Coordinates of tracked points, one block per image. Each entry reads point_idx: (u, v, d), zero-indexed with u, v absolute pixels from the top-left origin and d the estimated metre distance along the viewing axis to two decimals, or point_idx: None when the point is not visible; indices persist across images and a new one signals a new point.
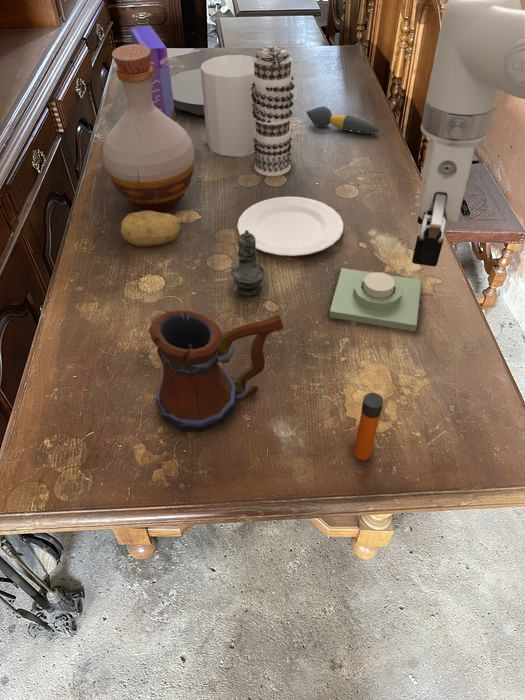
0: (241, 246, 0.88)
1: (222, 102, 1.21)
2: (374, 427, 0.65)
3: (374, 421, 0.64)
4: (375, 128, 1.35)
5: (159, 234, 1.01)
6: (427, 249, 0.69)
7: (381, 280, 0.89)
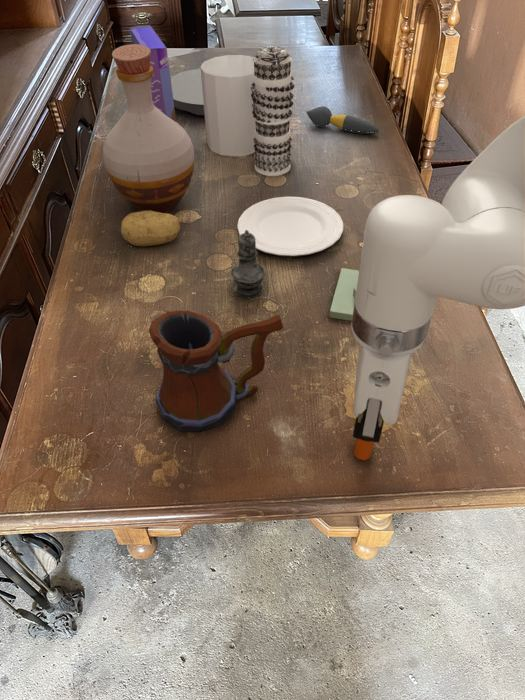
0: (241, 246, 0.88)
1: (222, 102, 1.21)
2: None
3: None
4: (375, 128, 1.35)
5: (159, 234, 1.01)
6: None
7: None
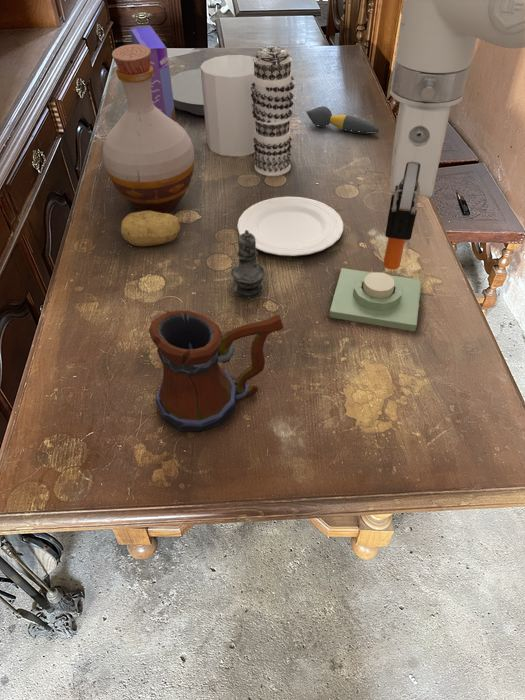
0: (241, 246, 0.88)
1: (222, 102, 1.21)
2: None
3: None
4: (375, 128, 1.35)
5: (159, 234, 1.01)
6: (401, 221, 0.66)
7: (381, 280, 0.89)
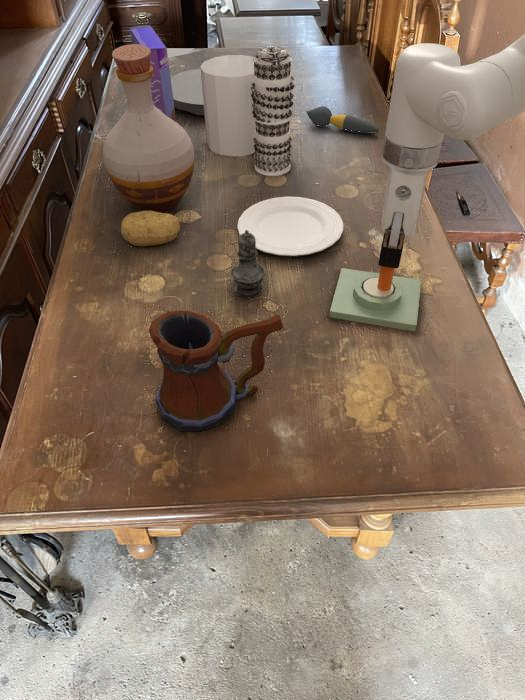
0: (241, 246, 0.88)
1: (222, 102, 1.21)
2: None
3: None
4: (375, 128, 1.35)
5: (159, 234, 1.01)
6: (390, 254, 0.83)
7: None
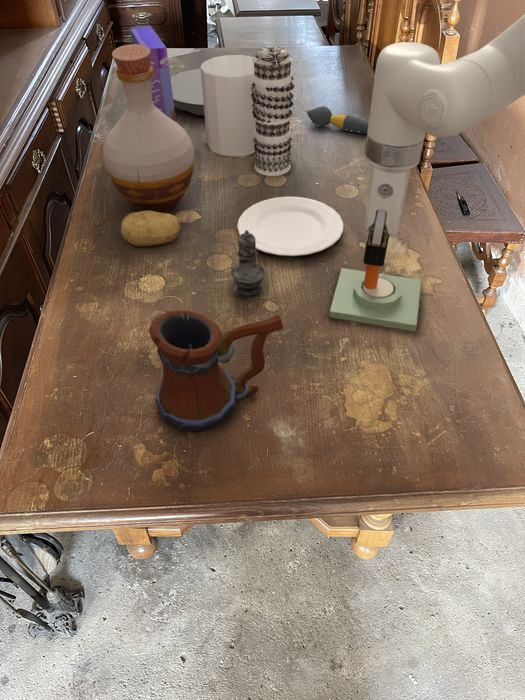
0: (241, 246, 0.88)
1: (222, 102, 1.21)
2: None
3: None
4: None
5: (159, 234, 1.01)
6: (375, 252, 0.83)
7: (380, 286, 0.90)
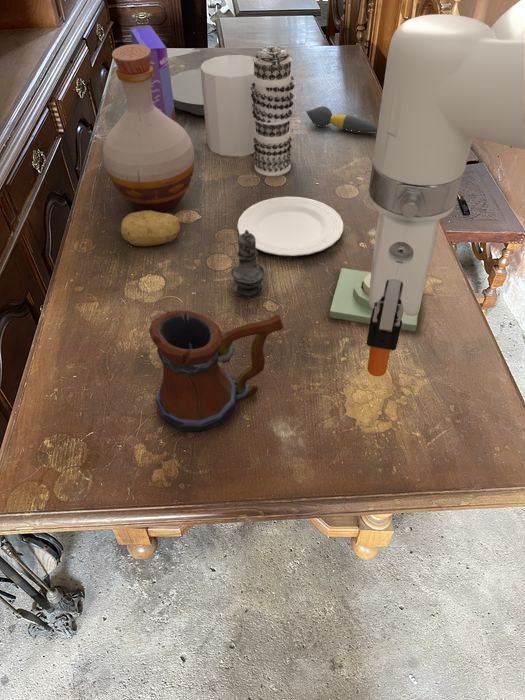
0: (241, 246, 0.88)
1: (222, 102, 1.21)
2: None
3: None
4: (375, 128, 1.35)
5: (159, 234, 1.01)
6: (383, 332, 0.56)
7: None
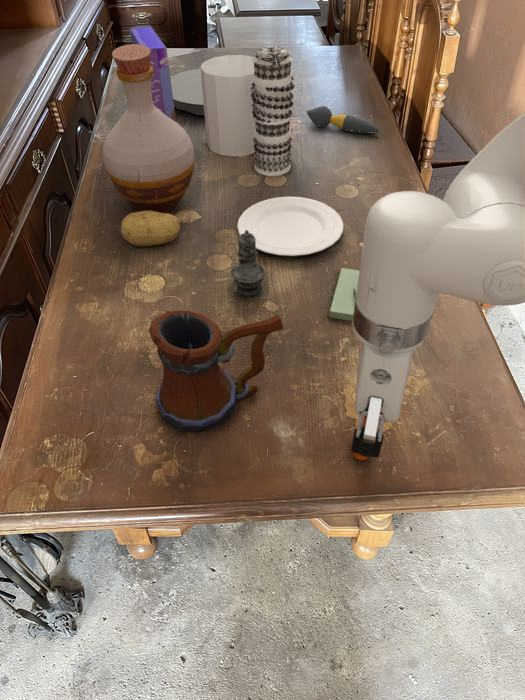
0: (241, 246, 0.88)
1: (222, 102, 1.21)
2: None
3: None
4: (375, 128, 1.35)
5: (159, 234, 1.01)
6: (366, 444, 0.60)
7: None
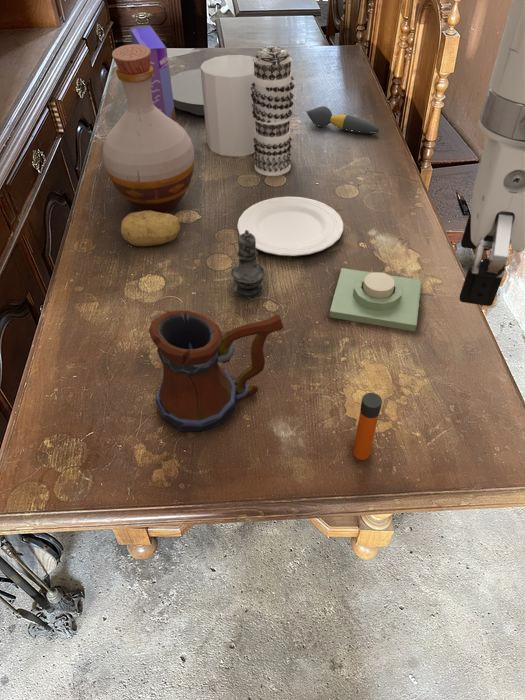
0: (241, 246, 0.88)
1: (222, 102, 1.21)
2: (373, 427, 0.65)
3: (373, 421, 0.64)
4: (375, 128, 1.35)
5: (159, 234, 1.01)
6: (482, 285, 0.52)
7: (381, 280, 0.89)
